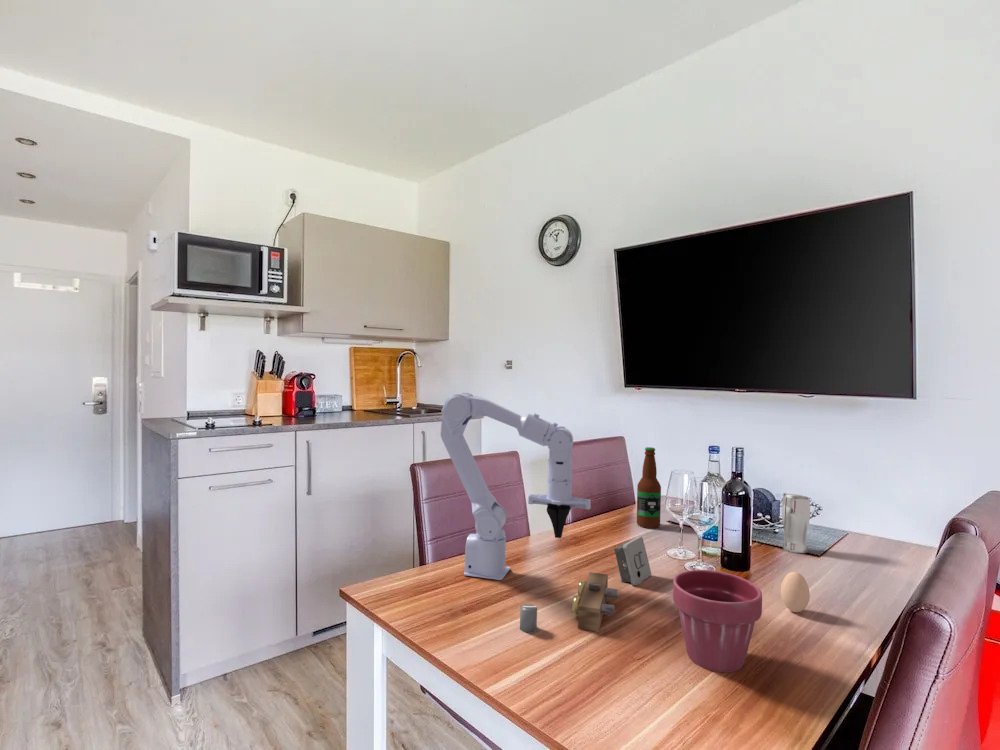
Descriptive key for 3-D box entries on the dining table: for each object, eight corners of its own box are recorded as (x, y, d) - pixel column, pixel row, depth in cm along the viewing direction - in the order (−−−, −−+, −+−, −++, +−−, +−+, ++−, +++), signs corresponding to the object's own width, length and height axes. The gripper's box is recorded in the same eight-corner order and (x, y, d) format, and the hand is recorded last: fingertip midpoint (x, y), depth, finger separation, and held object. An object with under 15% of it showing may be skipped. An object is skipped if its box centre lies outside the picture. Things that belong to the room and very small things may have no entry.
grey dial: (520, 632, 100) (521, 610, 99) (518, 624, 103) (519, 602, 103) (537, 632, 100) (538, 610, 100) (535, 624, 103) (535, 602, 103)
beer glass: (809, 548, 151) (811, 496, 151) (808, 555, 146) (809, 501, 145) (782, 544, 155) (783, 492, 155) (779, 550, 149) (781, 497, 149)
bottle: (637, 528, 168) (639, 449, 168) (635, 521, 175) (637, 445, 175) (661, 529, 167) (663, 450, 167) (658, 523, 174) (660, 446, 174)
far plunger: (577, 599, 113) (578, 583, 113) (579, 593, 116) (580, 578, 116) (616, 605, 111) (616, 589, 111) (617, 598, 114) (617, 582, 114)
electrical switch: (635, 587, 122) (632, 546, 122) (614, 583, 125) (612, 543, 125) (652, 576, 129) (649, 537, 130) (632, 572, 132) (629, 534, 133)
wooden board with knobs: (577, 628, 102) (578, 600, 102) (589, 591, 119) (589, 567, 119) (599, 631, 100) (599, 603, 100) (607, 593, 118) (607, 569, 118)
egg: (815, 616, 109) (816, 576, 109) (792, 618, 108) (793, 577, 108) (796, 605, 114) (797, 566, 114) (774, 606, 113) (775, 567, 113)
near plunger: (572, 616, 105) (572, 599, 105) (574, 609, 108) (574, 592, 108) (613, 622, 103) (613, 605, 103) (614, 615, 106) (615, 598, 106)
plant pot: (714, 690, 83) (716, 608, 83) (654, 646, 96) (656, 575, 95) (779, 671, 88) (781, 594, 88) (714, 632, 101) (716, 565, 101)
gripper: (525, 479, 124) (524, 538, 124) (588, 485, 120) (587, 545, 120) (532, 474, 131) (531, 529, 131) (592, 479, 127) (590, 536, 127)
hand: (558, 536), depth 126 cm, fingers closed
